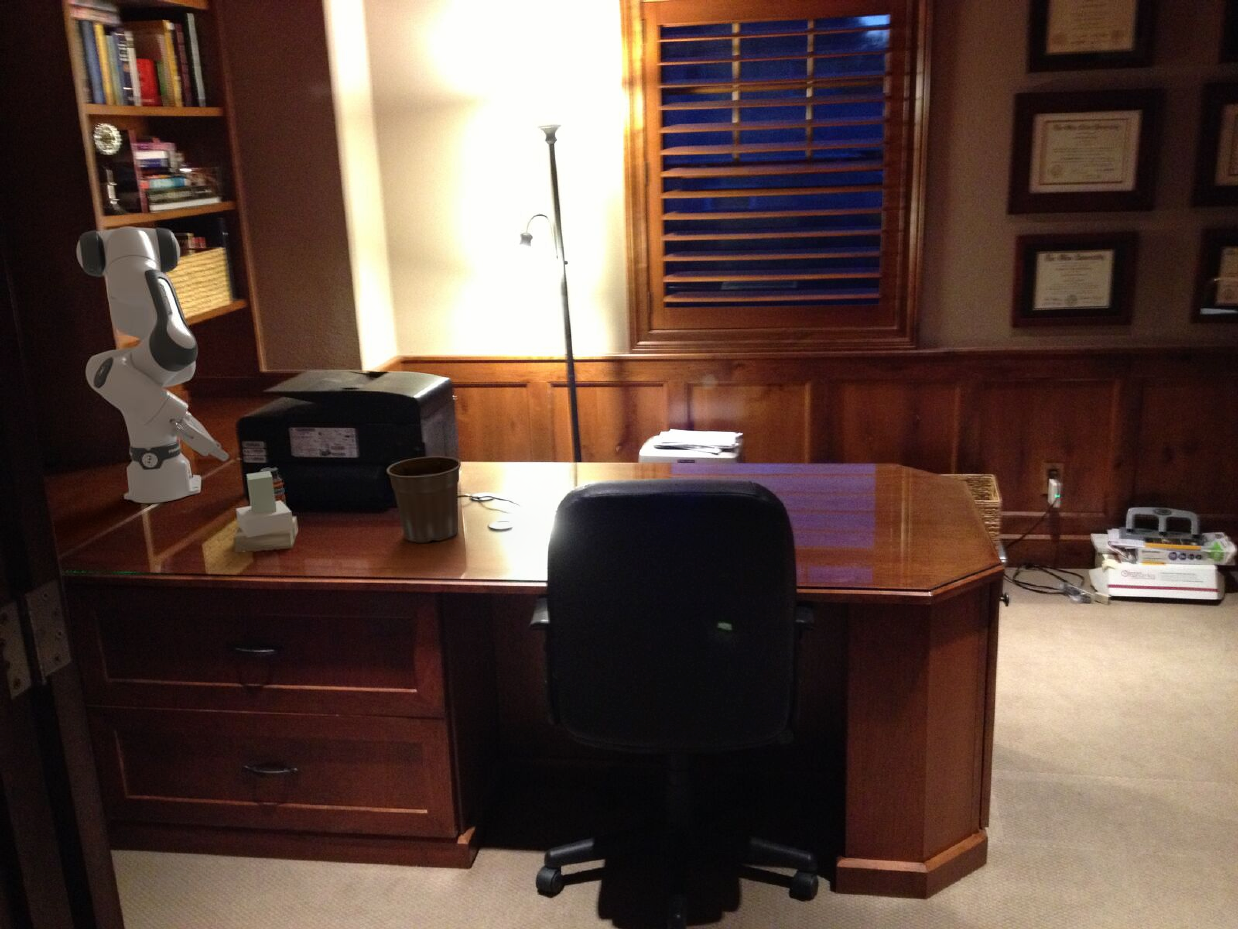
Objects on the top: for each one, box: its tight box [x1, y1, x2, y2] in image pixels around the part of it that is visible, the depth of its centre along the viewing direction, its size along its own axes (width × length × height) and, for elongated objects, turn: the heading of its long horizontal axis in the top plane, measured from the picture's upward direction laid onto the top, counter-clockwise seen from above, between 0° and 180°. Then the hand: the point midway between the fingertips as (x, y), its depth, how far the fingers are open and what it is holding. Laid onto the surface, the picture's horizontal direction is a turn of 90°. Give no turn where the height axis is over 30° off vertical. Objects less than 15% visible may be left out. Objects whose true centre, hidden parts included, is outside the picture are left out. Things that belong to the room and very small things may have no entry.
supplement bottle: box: [259, 467, 287, 506], centre depth 267 cm, size 6×6×11 cm
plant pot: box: [386, 455, 462, 544], centre depth 247 cm, size 16×16×16 cm
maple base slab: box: [233, 515, 299, 554], centre depth 249 cm, size 12×12×4 cm
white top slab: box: [235, 500, 294, 538], centre depth 248 cm, size 10×10×4 cm
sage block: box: [246, 471, 277, 515], centre depth 246 cm, size 5×5×8 cm
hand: (222, 453), depth 241 cm, fingers open, 8 cm apart
